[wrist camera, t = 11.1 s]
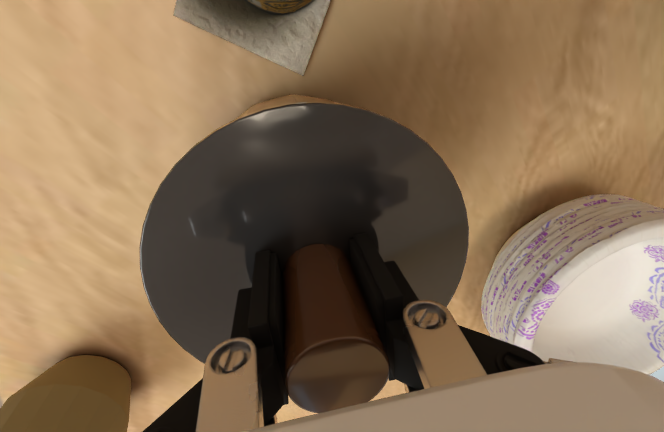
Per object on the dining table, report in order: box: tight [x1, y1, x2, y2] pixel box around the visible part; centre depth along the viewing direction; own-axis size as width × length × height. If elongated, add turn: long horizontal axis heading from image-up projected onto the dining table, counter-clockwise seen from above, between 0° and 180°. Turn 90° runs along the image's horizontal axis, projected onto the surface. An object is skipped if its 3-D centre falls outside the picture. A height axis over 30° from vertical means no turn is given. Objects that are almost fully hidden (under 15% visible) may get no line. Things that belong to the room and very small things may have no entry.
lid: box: [140, 101, 469, 413], centre depth 11 cm, size 13×13×6 cm
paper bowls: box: [481, 194, 664, 375], centre depth 25 cm, size 15×15×8 cm
